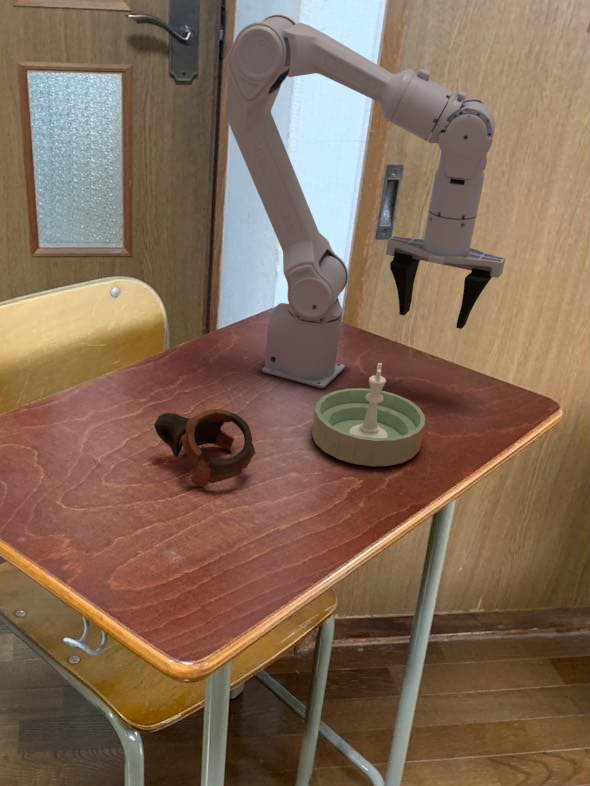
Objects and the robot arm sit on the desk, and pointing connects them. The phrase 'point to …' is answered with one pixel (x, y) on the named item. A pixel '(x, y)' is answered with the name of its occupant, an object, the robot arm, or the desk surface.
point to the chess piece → (372, 409)
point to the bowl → (350, 410)
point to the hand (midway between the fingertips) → (432, 319)
